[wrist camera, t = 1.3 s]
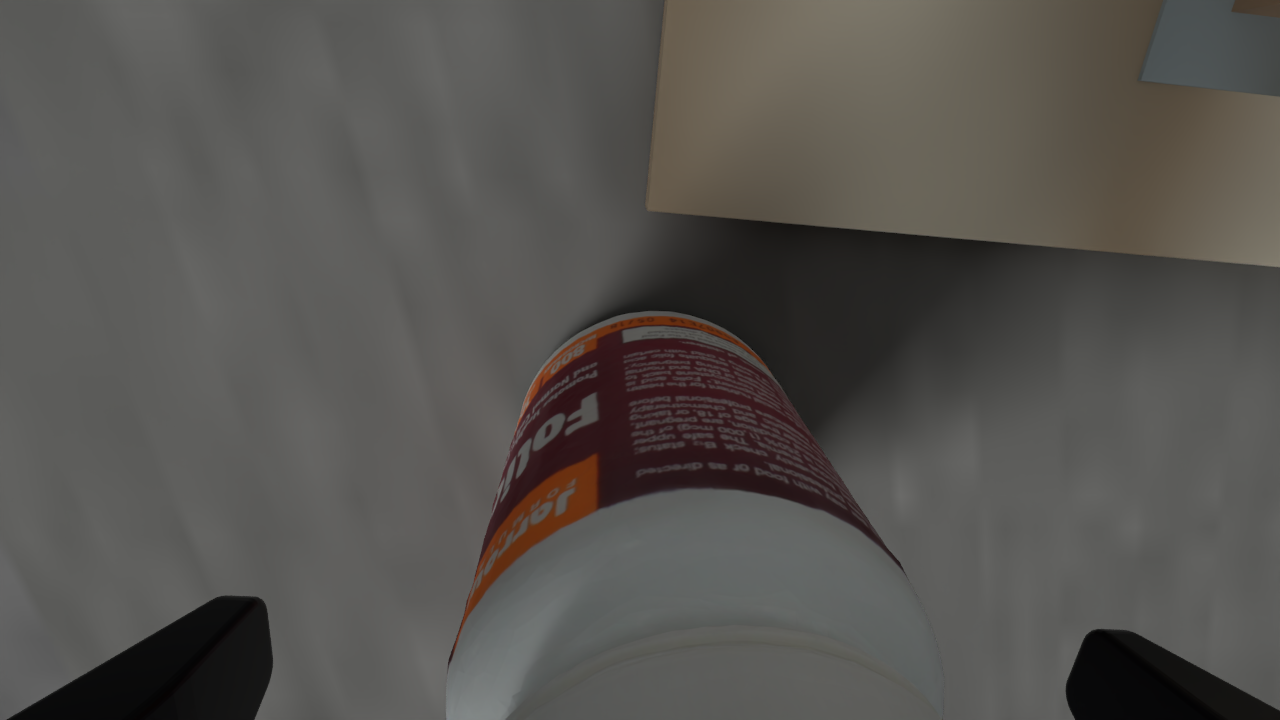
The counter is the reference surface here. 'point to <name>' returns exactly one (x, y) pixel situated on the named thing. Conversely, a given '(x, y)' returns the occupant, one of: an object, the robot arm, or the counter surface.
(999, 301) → the counter surface
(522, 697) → the pill bottle
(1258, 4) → the walnut block
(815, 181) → the plate
